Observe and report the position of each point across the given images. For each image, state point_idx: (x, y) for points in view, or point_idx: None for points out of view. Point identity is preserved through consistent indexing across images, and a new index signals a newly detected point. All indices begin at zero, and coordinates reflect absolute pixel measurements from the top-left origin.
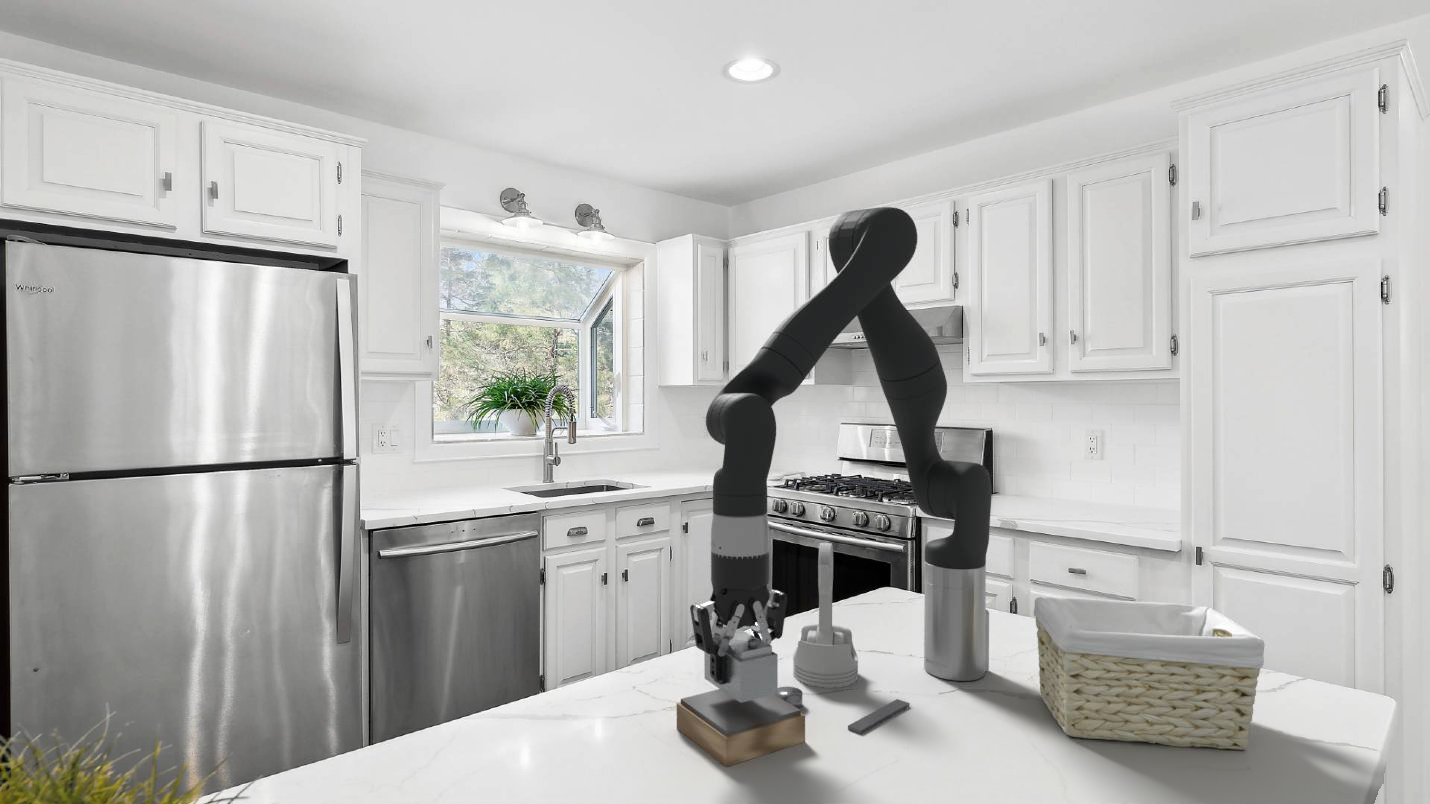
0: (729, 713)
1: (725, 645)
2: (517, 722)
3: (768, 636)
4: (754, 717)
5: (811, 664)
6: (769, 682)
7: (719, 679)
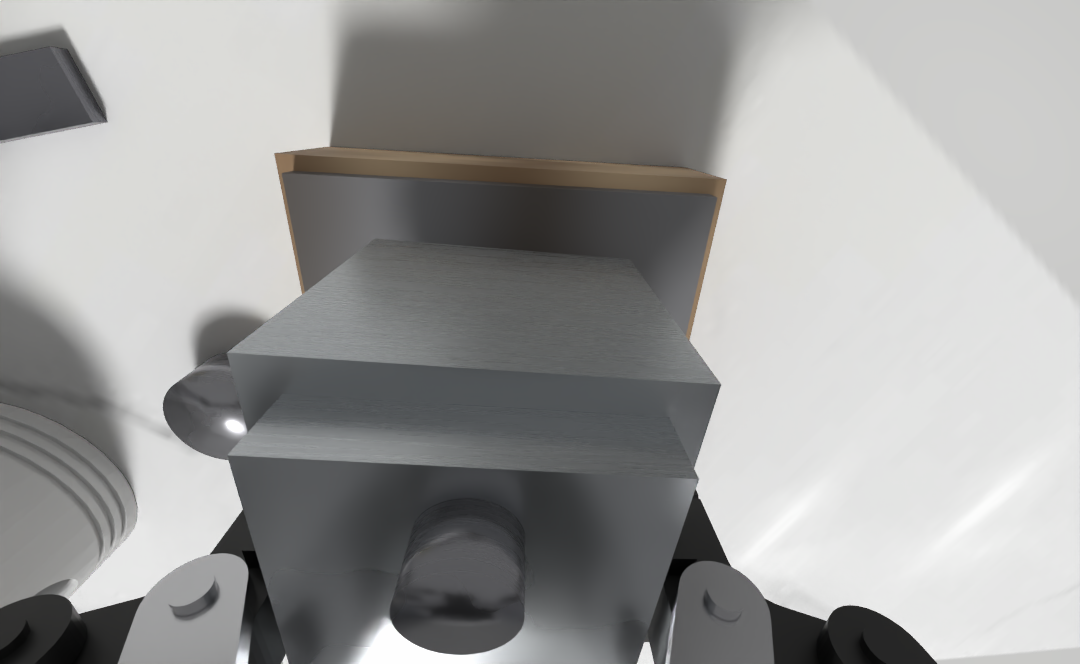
0: None
1: (705, 656)
2: None
3: (147, 647)
4: (526, 240)
5: (29, 512)
6: (415, 267)
7: None
